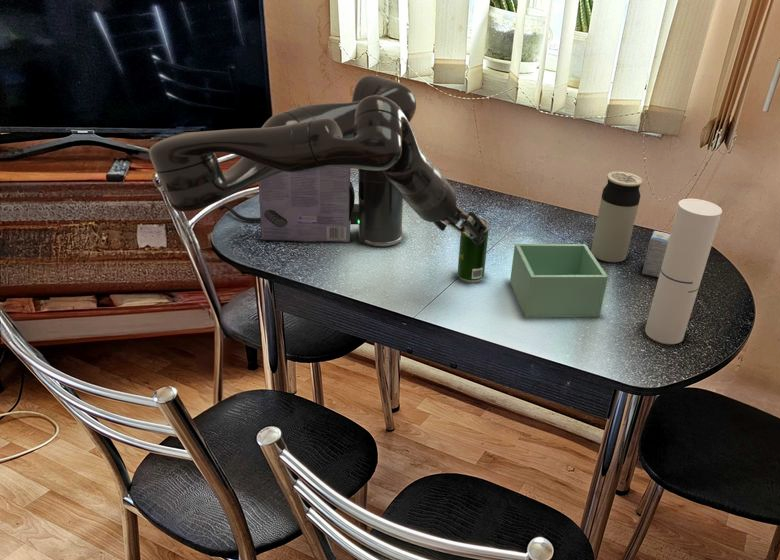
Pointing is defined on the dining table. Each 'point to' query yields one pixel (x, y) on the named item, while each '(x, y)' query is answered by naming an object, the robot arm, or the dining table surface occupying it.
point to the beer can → (472, 257)
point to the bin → (557, 280)
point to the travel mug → (616, 216)
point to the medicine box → (655, 253)
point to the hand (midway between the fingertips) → (462, 233)
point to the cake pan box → (307, 205)
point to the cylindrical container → (682, 269)
